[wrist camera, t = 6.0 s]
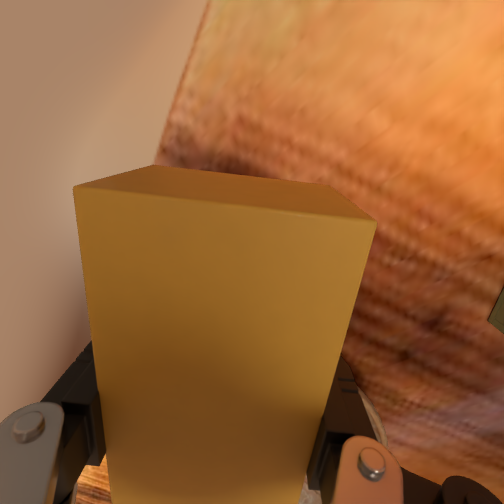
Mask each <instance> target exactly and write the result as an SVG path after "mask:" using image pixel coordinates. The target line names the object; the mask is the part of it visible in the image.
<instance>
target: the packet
mask: <svg viewBox="0 0 504 504" xmlns="http://www.w3.org/2000/svg"><path fill="white" fill-rule="evenodd" d="M73 195H74V203H75V211H76V218H77V227H78V235H79V243H80V251H81V259H82V267H83V275H84V282H85V291H86V299H87V306H88V315H89V323H90V330H91V339H92V347H93V355H94V363H95V371H96V379H97V387H98V391H99V395H100V403H101V412H102V420H103V428H104V436H105V444H106V459H107V467H108V475H109V483H110V491H111V499H112V504H298V502H299V498H300V495H301V491H302V488H303V484H304V481H305V477H306V472H307V469H308V465H309V462H310V458H311V455H312V451H313V448H314V444H315V440H316V437H317V433H318V430H319V426H320V423H321V419H322V416H323V413H324V410H325V406H326V403H327V399H328V396H329V392H330V389H331V385H332V382H333V378H334V375H335V371H336V368H337V364H338V360H339V357H340V353H341V350H342V346H343V343H344V339H345V336H346V332H347V329H348V325H349V322H350V318H351V315H352V311H353V308H354V304H355V300H356V297H357V293H358V290H359V286H360V283H361V279H362V276H363V272H364V269H365V265H366V262H367V258H368V255H369V251H370V247H371V244H372V240H373V237H374V233H375V230H376V226H377V221H376V220H375V219H373V218H372V217H371V216H369V215H368V214H367V213H365V212H364V211H363V210H361V209H360V208H359V207H357V206H356V205H355V204H353V203H352V202H351V201H349V200H348V199H347V198H345V197H344V196H343V195H342V194H340V193H339V192H338V191H336V190H335V189H334V188H332V187H331V186H329V185H323V184H314V183H305V182H297V181H288V180H280V179H271V178H262V177H254V176H245V175H237V174H228V173H219V172H211V171H202V170H193V169H185V168H176V167H168V166H159V165H151V166H147V167H143V168H139V169H136V170H132V171H128V172H125V173H121V174H117V175H114V176H110V177H106V178H103V179H98V180H95V181H91V182H87V183H84V184H80V185H77V186H74V187H73Z"/></svg>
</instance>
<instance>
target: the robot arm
mask: <svg viewBox="0 0 504 504" xmlns="http://www.w3.org/2000/svg"><path fill="white" fill-rule="evenodd" d="M105 454H106V444H105V436H104V428H103V420H102V412H101V403H100V395H99V391H98V387H97V379H96V371H95V363H94V355H93V347H92V340H91V342H90V343H89V344H88V345H87V346H86V348H85V349H84V351H83V352H81V354H80V355H79V356H78V357H77V358H76V361H75V362H73V363H72V364H71V366H70V367H69V368H68V369H67V370H66V372H65V373H64V374H63V375H62V376H61V378H60V379H59V380H58V381H57V382H56V383H55V385H54V386H53V387H52V388H51V390H50V391H49V392H48V393H47V394H46V396H45V397H44V398H43V399H42V400H41V401H40V402H37V403H33V404H30V405H27V406H25V407H23V408H20V409H19V410H17V411H15V412H13V413H12V414H11V415H9V416H8V417H7V418H5V419H4V420H3V421H2V422H1V423H0V504H75V502H76V495H77V486H78V484H77V480H78V478H79V476H80V474H81V472H82V470H83V469H84V467H85V465H92V466H100V464H101V462H102V460H103V458H104V456H105ZM306 475H307V483H308V490H317V491H320V494H321V500H322V504H502V502H501V501H500V500H499V499H498V498H497V497H496V496H495V495H494V494H492V493H491V492H490V491H489V490H488V489H486V488H485V487H484V486H482V485H481V484H479V483H477V482H475V481H473V480H471V479H469V478H466V477H462V476H451V477H448V478H447V479H446V480H445V481H444V482H443V484H442V486H441V485H439V484H437V483H434V482H432V481H430V480H427V479H425V478H423V477H420V476H418V475H416V474H413V473H411V472H409V471H407V470H405V469H404V468H402V467H401V466H399V463H398V462H397V460H396V458H395V457H394V456H393V454H392V453H391V452H390V451H389V450H388V449H387V448H386V447H385V446H384V445H382V444H381V443H379V442H378V440H377V438H376V435H375V433H374V430H373V427H372V425H371V422H370V419H369V417H368V414H367V411H366V409H365V406H364V403H363V401H362V398H361V395H360V394H359V390H358V387H357V385H356V382H355V379H354V377H353V374H352V371H351V369H350V366H349V365H348V364H347V363H346V362H345V361H344V359H343V358H342V357H341V356H340V357H339V360H338V364H337V368H336V371H335V375H334V378H333V382H332V385H331V389H330V392H329V396H328V399H327V403H326V406H325V410H324V413H323V416H322V419H321V423H320V426H319V430H318V433H317V437H316V440H315V444H314V448H313V451H312V455H311V458H310V462H309V465H308V469H307V472H306Z"/></svg>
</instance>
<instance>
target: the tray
mask: <svg viewBox="0 0 504 504" xmlns="http://www.w3.org/2000/svg"><path fill="white" fill-rule="evenodd" d="M488 322H490V323H491V324H492V325H494V326H495V327H496V328H497V329H498V330H500V331H501V332H502V333H503V334H504V288H503V290H502V293H501V295H500V297H499V299H498V301H497V303H496V305H495V307H494V309H493V311H492V313H491V315H490V317H489V319H488Z"/></svg>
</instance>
